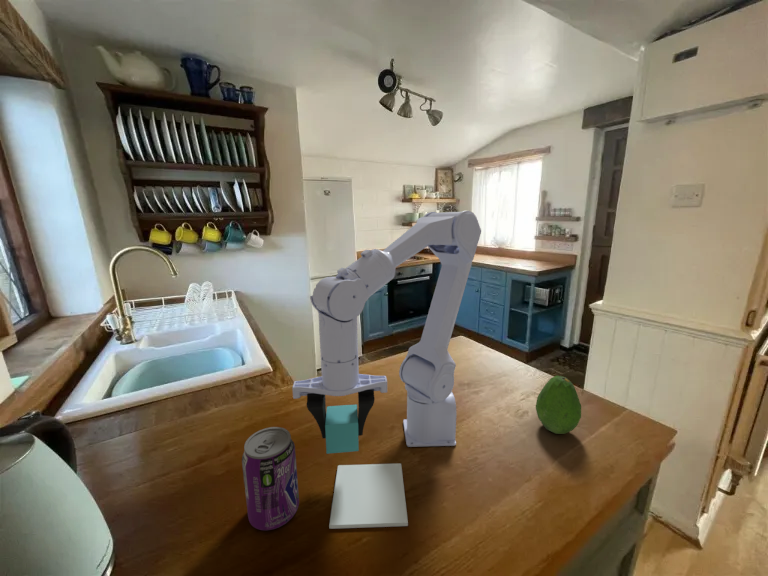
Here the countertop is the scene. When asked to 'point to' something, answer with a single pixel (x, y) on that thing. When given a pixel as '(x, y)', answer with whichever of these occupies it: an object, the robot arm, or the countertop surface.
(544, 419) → the avocado
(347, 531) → the countertop surface
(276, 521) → the beverage can
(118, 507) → the countertop surface
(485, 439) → the countertop surface
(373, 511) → the plate
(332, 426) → the cube
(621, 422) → the countertop surface
